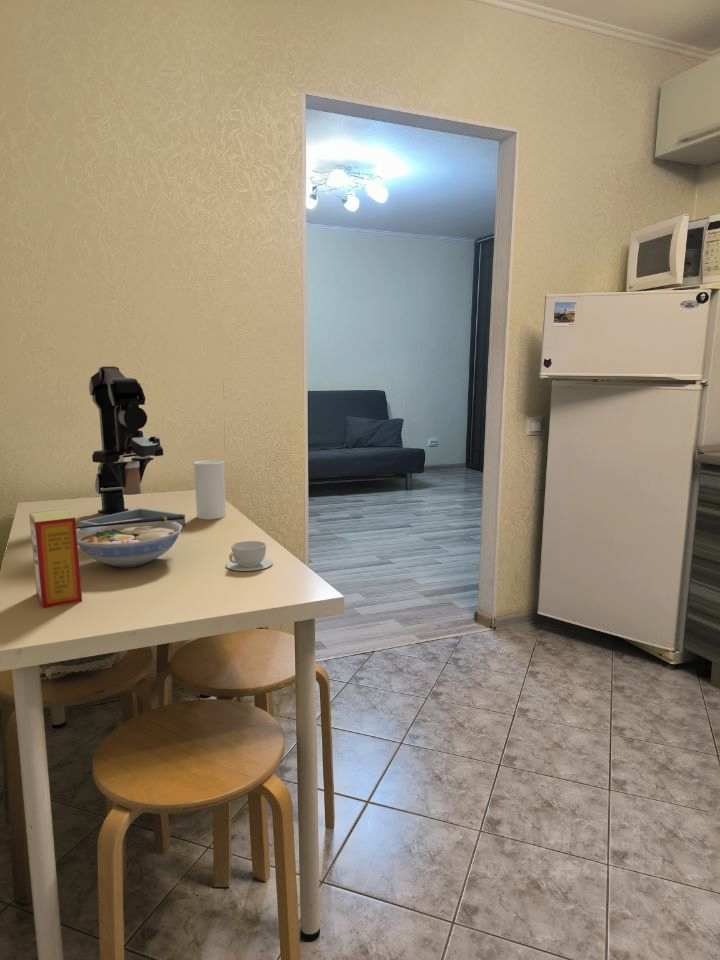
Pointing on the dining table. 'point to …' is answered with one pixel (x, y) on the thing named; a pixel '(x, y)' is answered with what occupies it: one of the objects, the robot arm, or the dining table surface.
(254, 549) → the teacup
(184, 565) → the dining table surface
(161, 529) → the ramen bowl
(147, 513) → the tray
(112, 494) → the robot arm
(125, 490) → the shaker
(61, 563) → the baking soda box
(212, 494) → the cup
